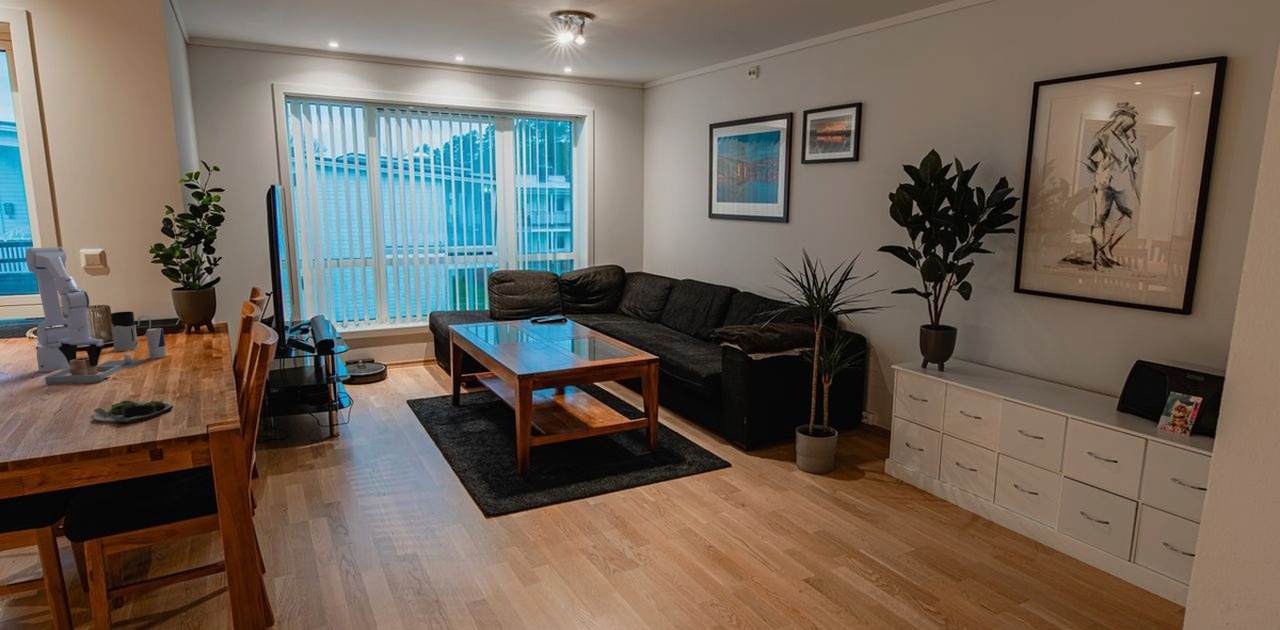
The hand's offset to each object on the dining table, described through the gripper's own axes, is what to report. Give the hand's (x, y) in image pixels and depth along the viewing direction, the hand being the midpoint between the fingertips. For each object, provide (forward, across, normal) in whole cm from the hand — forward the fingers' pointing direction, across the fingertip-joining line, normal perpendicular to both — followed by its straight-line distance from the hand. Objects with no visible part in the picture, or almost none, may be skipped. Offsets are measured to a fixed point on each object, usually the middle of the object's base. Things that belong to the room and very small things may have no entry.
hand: (83, 365), depth 237 cm
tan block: (+4, 0, 0) cm, 4 cm away
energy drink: (+5, -5, -27) cm, 28 cm away
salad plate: (+5, -47, +36) cm, 59 cm away
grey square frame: (+4, 0, 0) cm, 4 cm away
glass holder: (+5, +18, -44) cm, 48 cm away
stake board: (+4, 0, -16) cm, 16 cm away
